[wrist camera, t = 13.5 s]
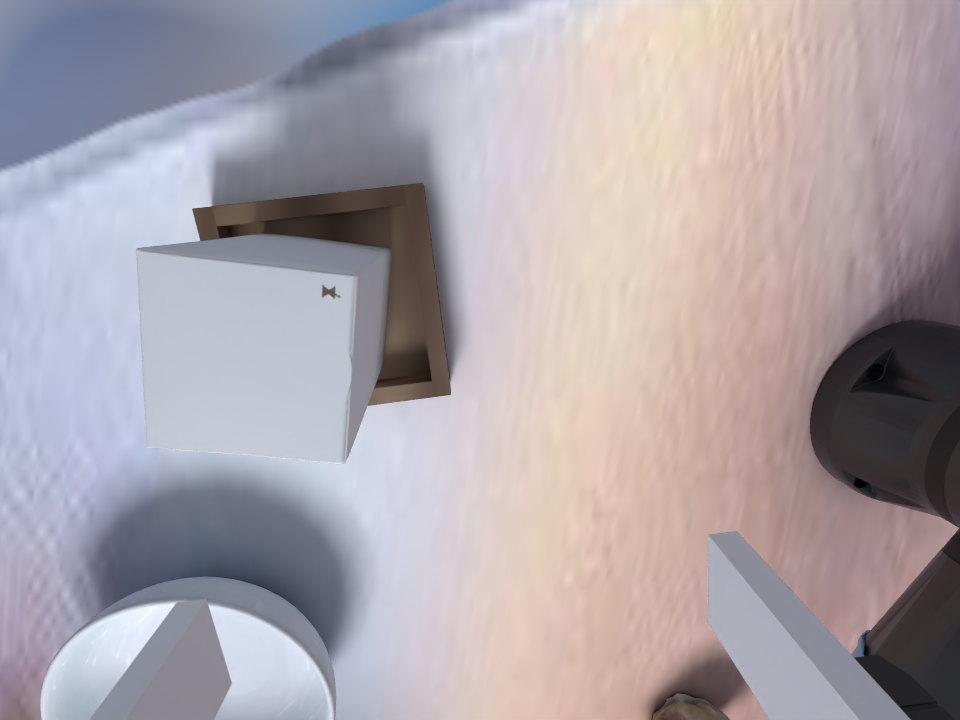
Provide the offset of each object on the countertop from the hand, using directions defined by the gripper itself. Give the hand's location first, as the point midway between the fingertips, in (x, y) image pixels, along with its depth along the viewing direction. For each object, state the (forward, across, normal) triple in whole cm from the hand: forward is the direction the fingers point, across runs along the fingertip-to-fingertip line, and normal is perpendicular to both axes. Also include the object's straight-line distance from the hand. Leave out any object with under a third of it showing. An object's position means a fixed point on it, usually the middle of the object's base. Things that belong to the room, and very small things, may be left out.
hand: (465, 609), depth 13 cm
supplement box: (+25, +9, -6) cm, 27 cm away
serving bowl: (+26, +23, +23) cm, 42 cm away
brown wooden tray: (+26, +8, -5) cm, 27 cm away
